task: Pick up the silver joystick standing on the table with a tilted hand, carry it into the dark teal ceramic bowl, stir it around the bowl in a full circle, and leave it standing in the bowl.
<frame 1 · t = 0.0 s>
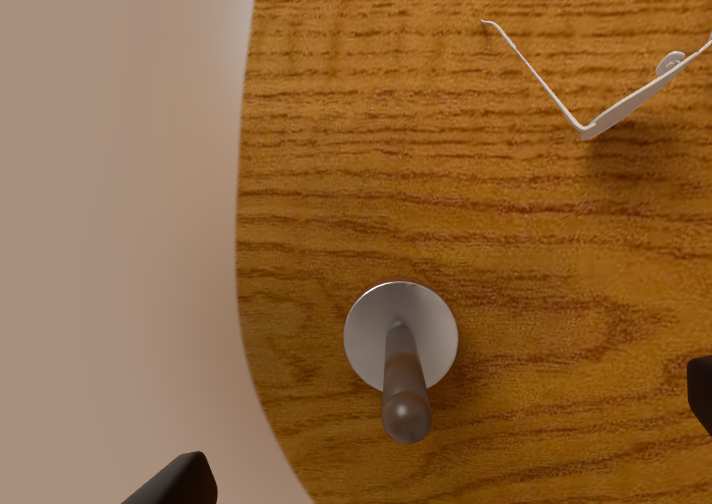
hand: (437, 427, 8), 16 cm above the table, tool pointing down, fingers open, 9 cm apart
sunglasses: (628, 19, 23), on the table
silver joystick: (399, 325, 24), on the table
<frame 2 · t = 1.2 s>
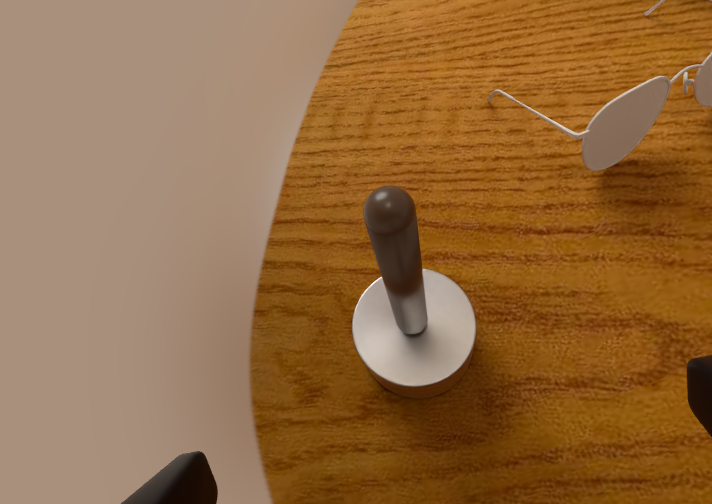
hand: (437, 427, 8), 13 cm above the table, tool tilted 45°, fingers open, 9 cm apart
sunglasses: (612, 94, 28), on the table
silver joystick: (416, 341, 22), on the table
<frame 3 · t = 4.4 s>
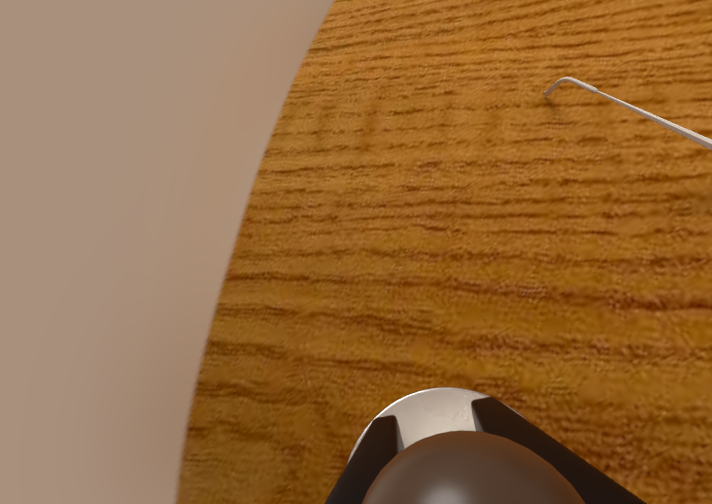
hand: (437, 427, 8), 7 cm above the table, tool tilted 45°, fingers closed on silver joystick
silver joystick: (452, 502, 13), on the table, touching gripper
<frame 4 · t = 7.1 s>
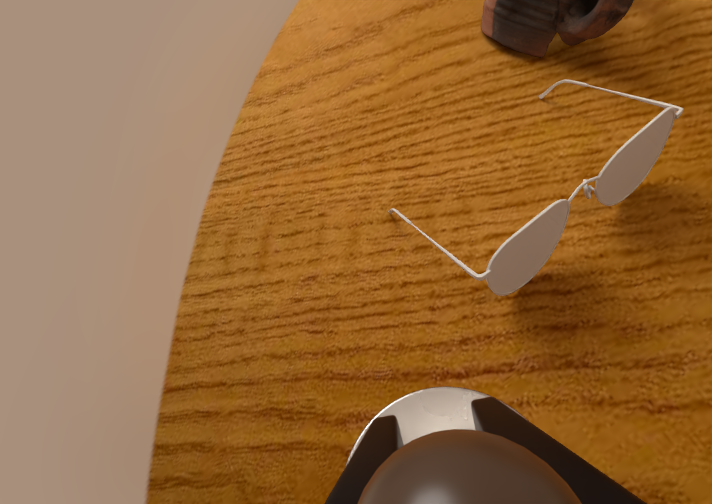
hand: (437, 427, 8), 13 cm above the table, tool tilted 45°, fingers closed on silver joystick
pottery mug: (555, 25, 32), on the table
sunglasses: (517, 193, 26), on the table
silver joystick: (452, 502, 13), point 7 cm above the table, touching gripper
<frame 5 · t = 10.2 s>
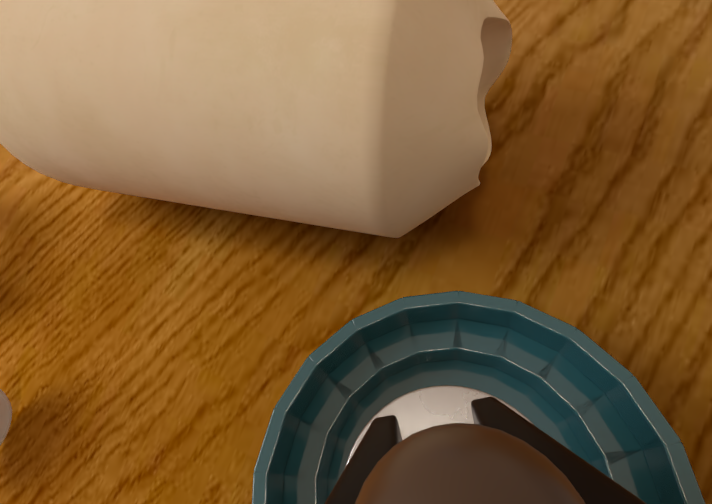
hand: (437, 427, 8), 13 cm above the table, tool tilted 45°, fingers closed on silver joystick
candle: (297, 168, 30), on the table
silver joystick: (452, 501, 13), point 7 cm above the table, touching gripper
bowl: (457, 493, 19), on the table
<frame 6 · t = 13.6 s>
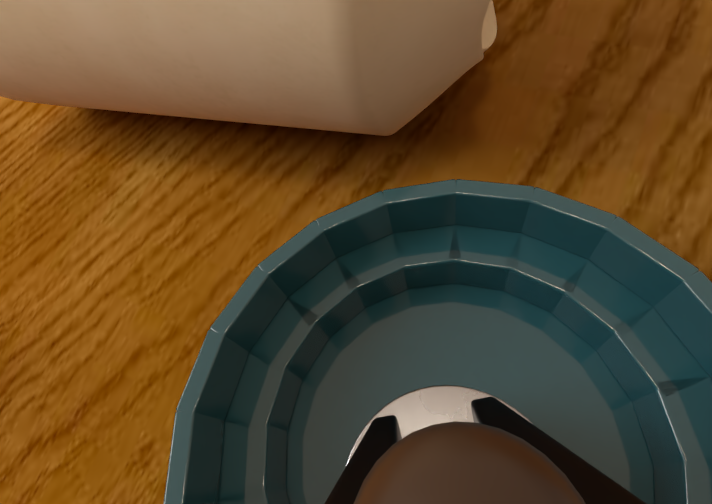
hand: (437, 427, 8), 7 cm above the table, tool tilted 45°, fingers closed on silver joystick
candle: (266, 83, 25), on the table
silver joystick: (452, 500, 13), point 1 cm above the table, touching gripper
bowl: (454, 448, 15), on the table
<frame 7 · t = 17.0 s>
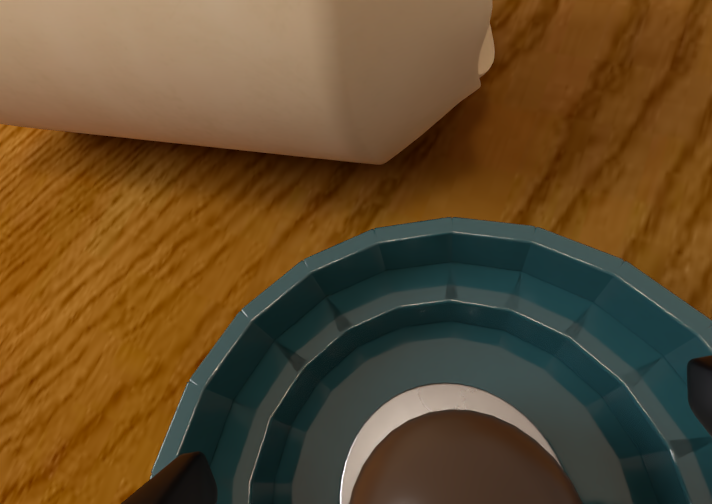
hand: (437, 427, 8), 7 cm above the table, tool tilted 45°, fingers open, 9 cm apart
candle: (257, 104, 24), on the table
silver joystick: (450, 497, 13), point 1 cm above the table, touching bowl
bowl: (452, 502, 14), on the table
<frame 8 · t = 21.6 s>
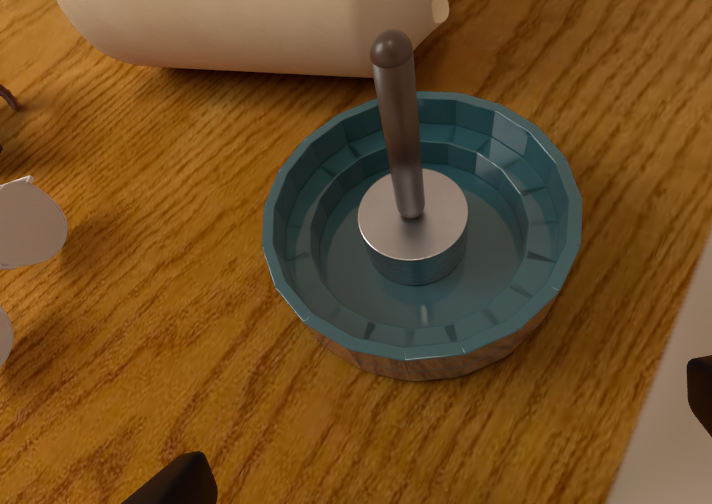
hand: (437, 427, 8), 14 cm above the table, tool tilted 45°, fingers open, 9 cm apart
candle: (295, 52, 36), on the table
silver joystick: (415, 240, 25), point 1 cm above the table, touching bowl
bowl: (417, 247, 25), on the table
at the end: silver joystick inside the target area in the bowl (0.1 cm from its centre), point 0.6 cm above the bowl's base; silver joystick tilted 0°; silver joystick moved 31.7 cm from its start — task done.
